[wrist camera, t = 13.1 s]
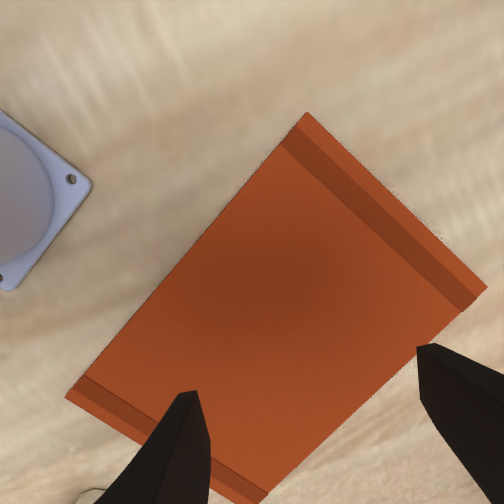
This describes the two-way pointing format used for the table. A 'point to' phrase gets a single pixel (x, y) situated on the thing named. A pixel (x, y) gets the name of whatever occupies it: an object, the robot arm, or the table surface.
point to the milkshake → (89, 496)
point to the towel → (282, 315)
